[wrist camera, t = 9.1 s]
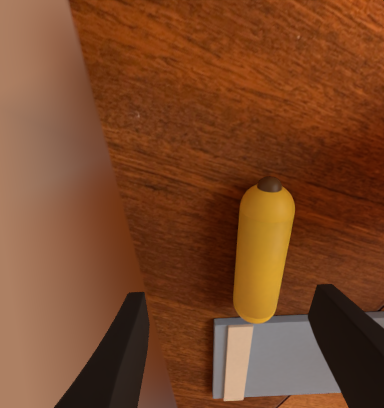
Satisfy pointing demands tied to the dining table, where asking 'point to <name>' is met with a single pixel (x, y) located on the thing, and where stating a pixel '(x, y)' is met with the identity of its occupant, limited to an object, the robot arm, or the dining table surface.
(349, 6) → the dining table surface
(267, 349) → the grey flat rectangular block
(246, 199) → the banana
